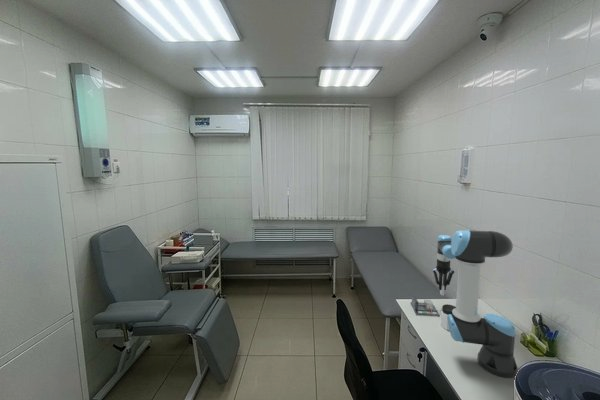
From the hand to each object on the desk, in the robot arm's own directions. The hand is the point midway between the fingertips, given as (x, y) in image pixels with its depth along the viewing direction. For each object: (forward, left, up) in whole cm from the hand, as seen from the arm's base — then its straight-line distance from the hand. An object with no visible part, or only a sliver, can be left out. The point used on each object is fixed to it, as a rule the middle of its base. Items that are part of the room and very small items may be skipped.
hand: (442, 294), depth 172 cm
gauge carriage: (-2, +8, -9) cm, 12 cm away
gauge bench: (0, +11, -11) cm, 15 cm away
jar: (-18, +2, -11) cm, 22 cm away
